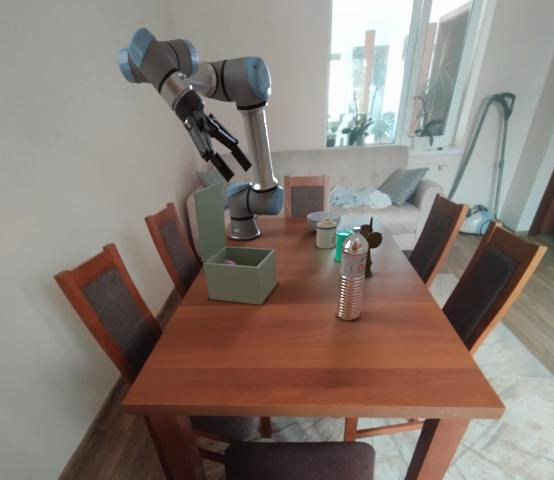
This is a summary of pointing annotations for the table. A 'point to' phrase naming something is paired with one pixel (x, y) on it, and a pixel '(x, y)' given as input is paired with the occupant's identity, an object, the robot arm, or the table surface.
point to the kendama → (370, 243)
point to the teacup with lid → (326, 234)
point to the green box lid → (210, 220)
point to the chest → (241, 274)
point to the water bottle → (352, 276)
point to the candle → (340, 239)
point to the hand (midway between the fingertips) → (240, 173)
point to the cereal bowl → (322, 218)
